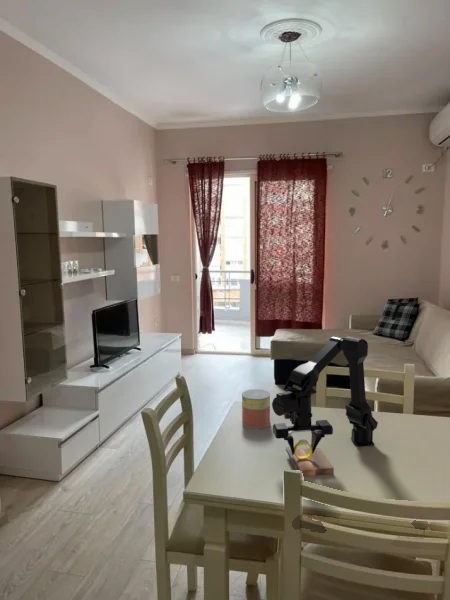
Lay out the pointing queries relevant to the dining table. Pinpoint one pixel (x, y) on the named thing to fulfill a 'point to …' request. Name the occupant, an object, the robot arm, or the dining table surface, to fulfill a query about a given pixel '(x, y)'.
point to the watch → (302, 442)
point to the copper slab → (311, 462)
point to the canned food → (256, 408)
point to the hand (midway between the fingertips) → (302, 453)
